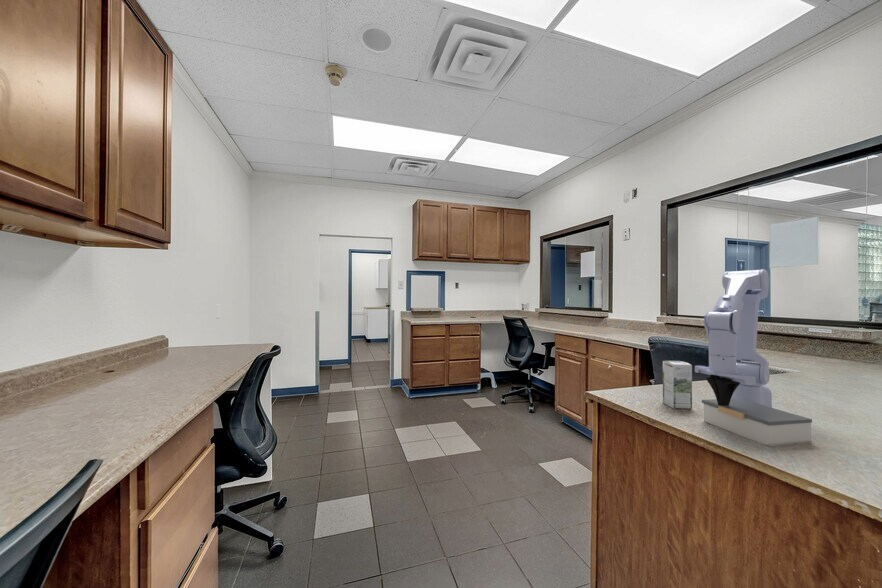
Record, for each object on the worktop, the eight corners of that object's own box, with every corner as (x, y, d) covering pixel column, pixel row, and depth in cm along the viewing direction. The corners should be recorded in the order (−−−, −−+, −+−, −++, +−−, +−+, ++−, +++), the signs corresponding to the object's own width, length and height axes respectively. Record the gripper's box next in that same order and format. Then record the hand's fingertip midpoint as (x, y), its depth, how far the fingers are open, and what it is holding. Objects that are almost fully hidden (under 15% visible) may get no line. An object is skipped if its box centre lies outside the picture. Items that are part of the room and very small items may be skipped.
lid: (738, 402, 92) (738, 398, 92) (812, 425, 75) (811, 419, 76) (699, 404, 90) (699, 399, 90) (766, 427, 74) (766, 421, 74)
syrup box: (680, 403, 105) (679, 360, 105) (693, 409, 99) (692, 363, 99) (662, 403, 105) (661, 360, 106) (673, 409, 99) (673, 363, 100)
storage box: (739, 418, 91) (739, 401, 92) (811, 443, 76) (810, 422, 76) (703, 421, 90) (703, 403, 90) (769, 446, 74) (769, 425, 74)
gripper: (685, 351, 93) (686, 397, 92) (738, 360, 78) (739, 415, 78) (705, 350, 94) (706, 396, 93) (762, 359, 79) (763, 413, 79)
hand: (723, 404), depth 86 cm, fingers closed
